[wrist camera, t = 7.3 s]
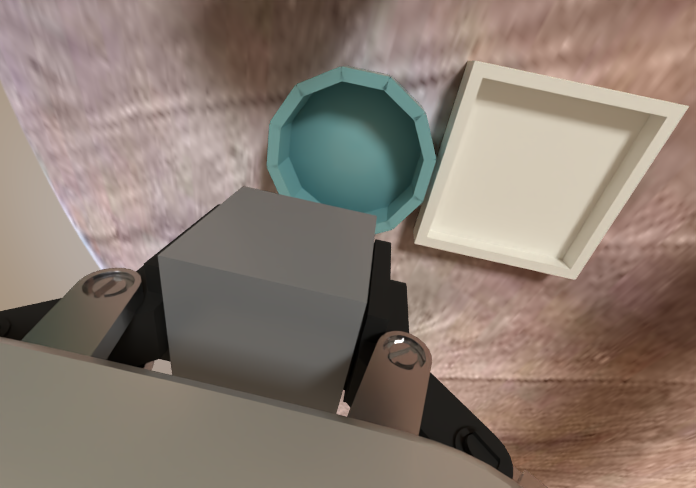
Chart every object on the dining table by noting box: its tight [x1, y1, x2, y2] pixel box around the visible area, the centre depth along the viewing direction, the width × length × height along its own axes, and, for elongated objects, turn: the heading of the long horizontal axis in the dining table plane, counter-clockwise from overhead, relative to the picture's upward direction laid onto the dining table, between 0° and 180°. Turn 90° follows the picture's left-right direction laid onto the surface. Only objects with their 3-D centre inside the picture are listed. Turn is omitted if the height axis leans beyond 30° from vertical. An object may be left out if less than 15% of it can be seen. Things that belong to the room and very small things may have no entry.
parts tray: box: [413, 61, 689, 280], centre depth 24 cm, size 13×13×2 cm
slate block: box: [158, 186, 377, 414], centre depth 10 cm, size 4×4×4 cm
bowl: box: [267, 66, 436, 234], centre depth 25 cm, size 12×12×4 cm
